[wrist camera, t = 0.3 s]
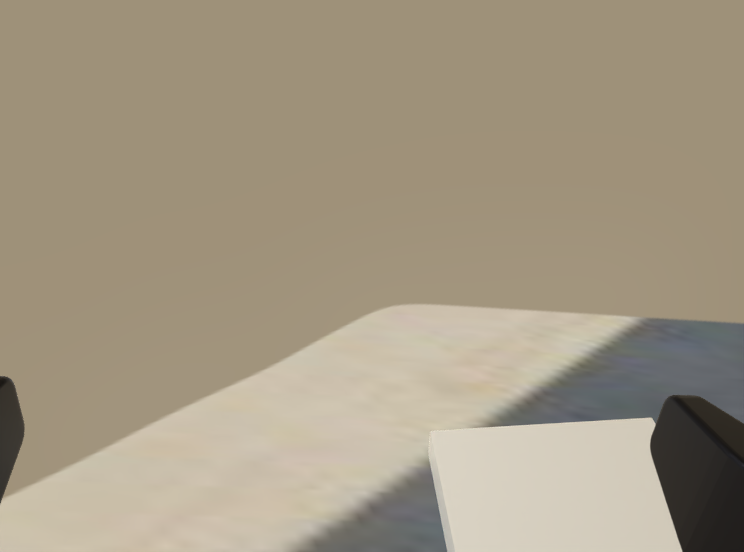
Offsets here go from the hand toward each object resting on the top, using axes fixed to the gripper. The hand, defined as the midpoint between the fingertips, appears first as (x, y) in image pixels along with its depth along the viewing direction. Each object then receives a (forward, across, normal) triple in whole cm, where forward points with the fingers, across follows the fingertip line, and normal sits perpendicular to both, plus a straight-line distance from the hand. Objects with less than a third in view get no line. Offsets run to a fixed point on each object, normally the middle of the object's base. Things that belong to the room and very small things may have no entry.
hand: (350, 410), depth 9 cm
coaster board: (+10, -10, +15) cm, 20 cm away
